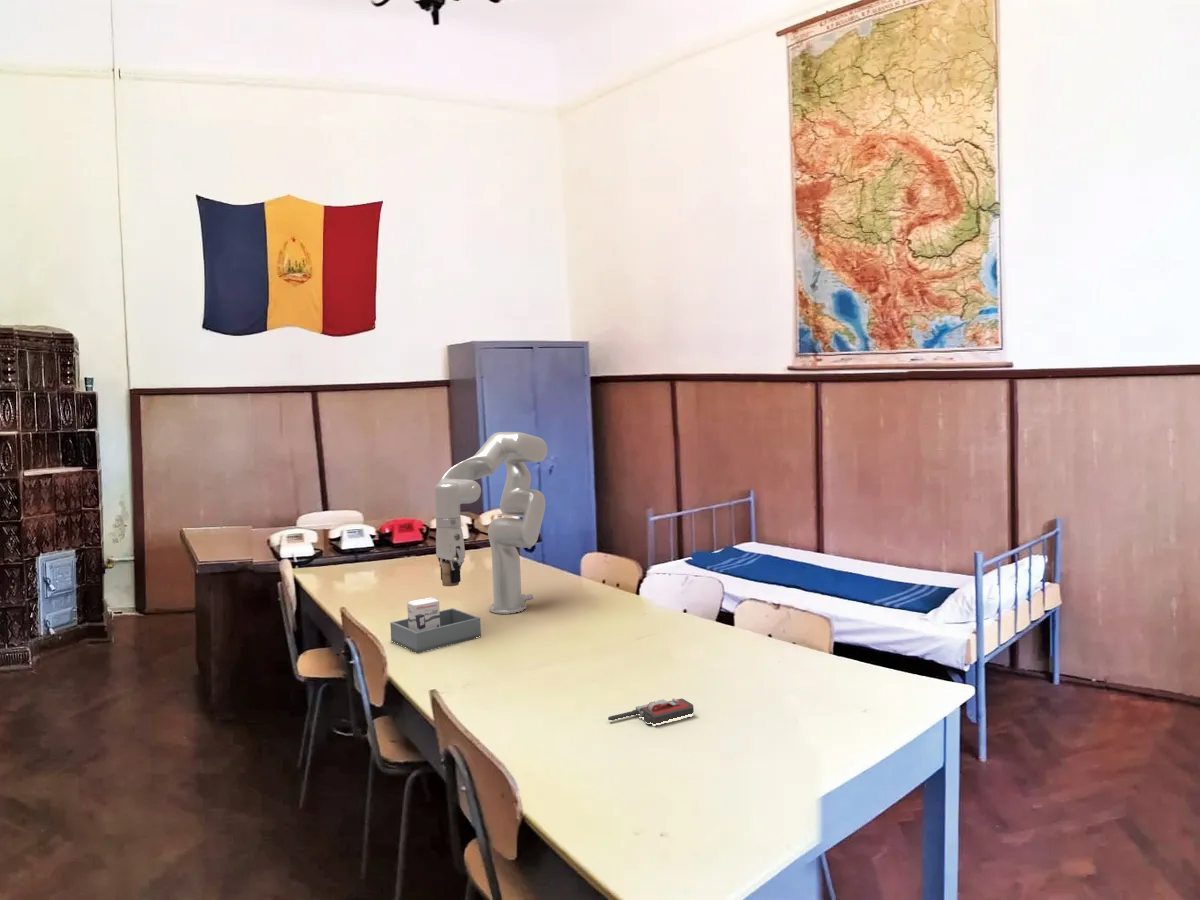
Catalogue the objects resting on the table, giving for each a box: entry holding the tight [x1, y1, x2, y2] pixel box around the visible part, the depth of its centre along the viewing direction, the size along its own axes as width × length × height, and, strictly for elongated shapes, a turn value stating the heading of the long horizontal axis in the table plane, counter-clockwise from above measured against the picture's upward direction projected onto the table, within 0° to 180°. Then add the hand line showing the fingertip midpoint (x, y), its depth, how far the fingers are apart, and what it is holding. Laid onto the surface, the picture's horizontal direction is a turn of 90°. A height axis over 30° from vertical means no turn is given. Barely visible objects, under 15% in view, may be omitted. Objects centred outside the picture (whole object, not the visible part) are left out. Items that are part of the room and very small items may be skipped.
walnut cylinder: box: [441, 561, 460, 587], centre depth 269 cm, size 5×5×7 cm
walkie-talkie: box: [607, 697, 695, 724], centre depth 202 cm, size 9×4×20 cm
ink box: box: [406, 596, 441, 632], centre depth 264 cm, size 8×5×12 cm, turn 125°
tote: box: [389, 607, 482, 654], centre depth 267 cm, size 22×16×6 cm
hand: (450, 580), depth 269 cm, fingers closed on walnut cylinder, 4 cm apart
